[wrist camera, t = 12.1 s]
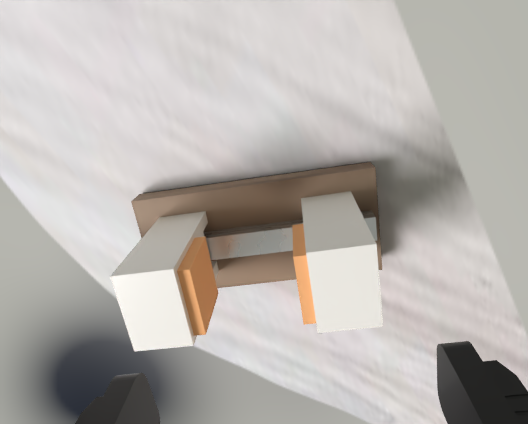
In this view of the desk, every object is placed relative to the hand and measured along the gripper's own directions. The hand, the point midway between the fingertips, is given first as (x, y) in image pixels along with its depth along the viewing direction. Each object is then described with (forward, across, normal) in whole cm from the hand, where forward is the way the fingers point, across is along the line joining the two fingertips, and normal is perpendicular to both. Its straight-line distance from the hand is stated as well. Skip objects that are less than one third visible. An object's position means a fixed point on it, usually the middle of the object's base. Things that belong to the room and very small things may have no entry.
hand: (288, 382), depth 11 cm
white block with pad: (+22, -3, +6) cm, 23 cm away
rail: (+24, +3, +6) cm, 25 cm away
